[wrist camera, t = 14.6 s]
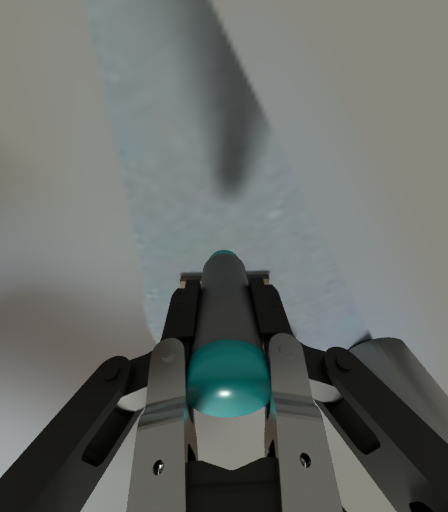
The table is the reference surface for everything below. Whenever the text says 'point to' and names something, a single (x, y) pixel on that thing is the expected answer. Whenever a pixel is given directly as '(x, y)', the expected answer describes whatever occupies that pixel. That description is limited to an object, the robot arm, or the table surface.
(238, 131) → the table surface
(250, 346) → the marker
